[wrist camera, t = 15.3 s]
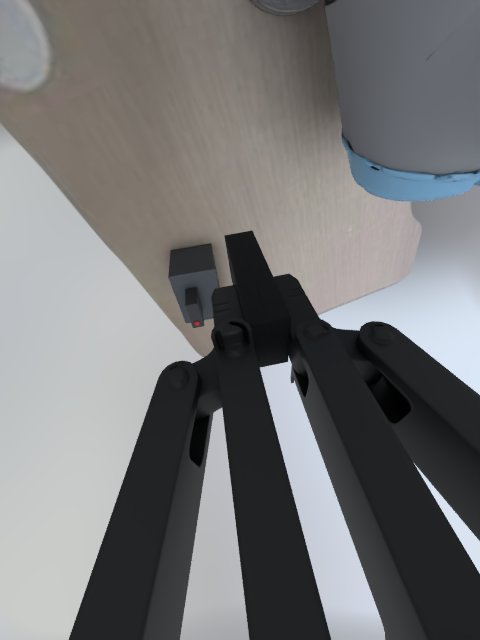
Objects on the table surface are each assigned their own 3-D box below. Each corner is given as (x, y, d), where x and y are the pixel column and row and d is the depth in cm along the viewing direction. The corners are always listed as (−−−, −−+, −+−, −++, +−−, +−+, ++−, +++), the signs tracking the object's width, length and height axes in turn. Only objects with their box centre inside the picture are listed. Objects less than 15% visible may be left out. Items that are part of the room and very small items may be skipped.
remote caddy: (210, 243, 40) (218, 285, 31) (219, 289, 47) (227, 333, 38) (170, 250, 39) (166, 295, 31) (185, 295, 47) (186, 341, 38)
